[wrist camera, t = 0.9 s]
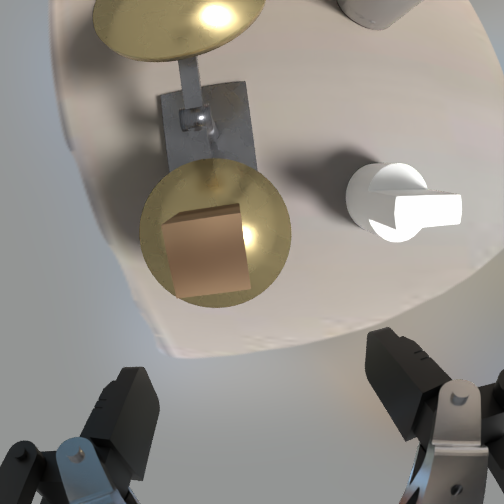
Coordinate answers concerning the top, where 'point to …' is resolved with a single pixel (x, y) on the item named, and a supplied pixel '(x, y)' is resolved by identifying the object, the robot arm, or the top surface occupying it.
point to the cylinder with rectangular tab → (398, 202)
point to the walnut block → (207, 251)
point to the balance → (201, 133)
